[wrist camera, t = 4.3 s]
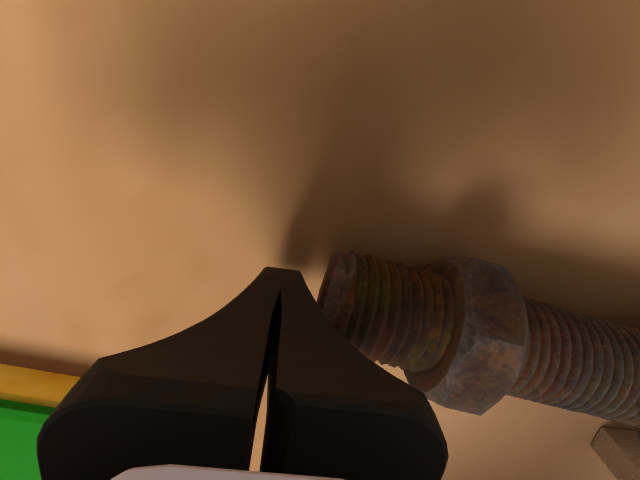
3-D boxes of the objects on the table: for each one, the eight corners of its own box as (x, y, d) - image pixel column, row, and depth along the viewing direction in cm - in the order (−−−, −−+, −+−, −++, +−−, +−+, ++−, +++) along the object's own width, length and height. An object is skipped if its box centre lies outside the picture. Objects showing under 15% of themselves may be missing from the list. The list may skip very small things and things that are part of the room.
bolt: (326, 230, 14) (651, 321, 16) (294, 357, 14) (637, 439, 15) (364, 196, 9) (864, 343, 10) (311, 410, 8) (859, 534, 10)
